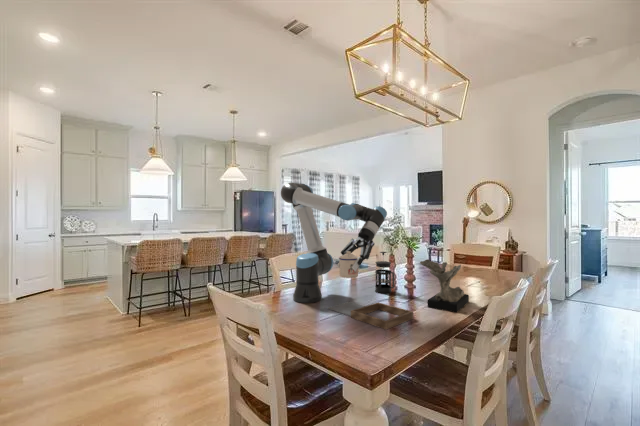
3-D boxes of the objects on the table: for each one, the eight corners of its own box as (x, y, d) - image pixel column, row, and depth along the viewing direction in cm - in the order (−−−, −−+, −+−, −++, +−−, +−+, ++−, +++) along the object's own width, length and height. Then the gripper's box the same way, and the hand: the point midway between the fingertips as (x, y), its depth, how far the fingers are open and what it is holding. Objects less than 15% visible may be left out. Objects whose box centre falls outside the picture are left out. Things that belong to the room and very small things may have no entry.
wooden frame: (350, 317, 141) (350, 310, 141) (378, 308, 154) (378, 302, 154) (386, 329, 127) (386, 321, 127) (413, 318, 140) (413, 311, 140)
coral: (454, 314, 145) (454, 266, 145) (411, 306, 158) (411, 262, 158) (470, 302, 164) (470, 260, 164) (430, 295, 177) (430, 256, 177)
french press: (371, 291, 185) (370, 251, 185) (378, 288, 193) (378, 250, 192) (389, 295, 178) (389, 253, 178) (397, 291, 185) (397, 251, 185)
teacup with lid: (350, 279, 146) (349, 253, 146) (335, 276, 152) (335, 251, 152) (366, 275, 154) (366, 250, 154) (351, 272, 161) (351, 249, 160)
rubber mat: (327, 308, 154) (327, 307, 154) (349, 302, 164) (349, 301, 164) (350, 316, 143) (350, 315, 143) (372, 309, 153) (372, 308, 153)
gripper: (389, 238, 155) (367, 276, 145) (355, 236, 171) (334, 270, 161) (382, 227, 151) (359, 266, 141) (348, 226, 168) (326, 260, 157)
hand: (346, 268), depth 151 cm, fingers closed on teacup with lid, 9 cm apart
